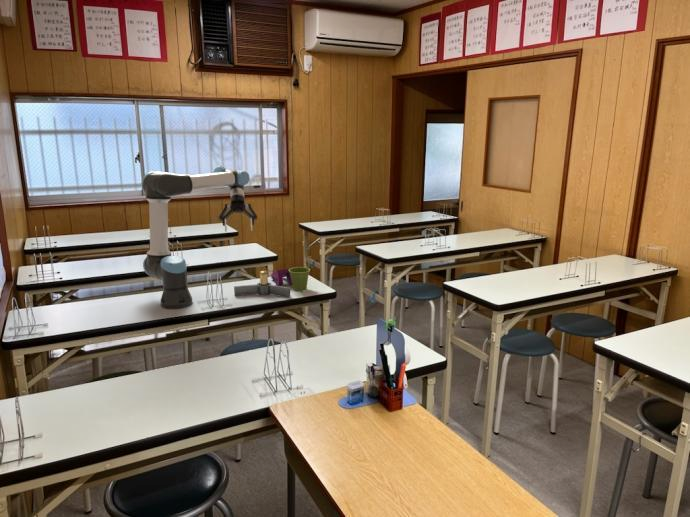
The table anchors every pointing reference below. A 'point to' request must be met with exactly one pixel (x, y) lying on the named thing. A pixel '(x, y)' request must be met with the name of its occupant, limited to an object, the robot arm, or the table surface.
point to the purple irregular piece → (281, 276)
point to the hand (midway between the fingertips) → (238, 229)
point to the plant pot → (299, 278)
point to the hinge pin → (263, 278)
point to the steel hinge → (262, 290)
